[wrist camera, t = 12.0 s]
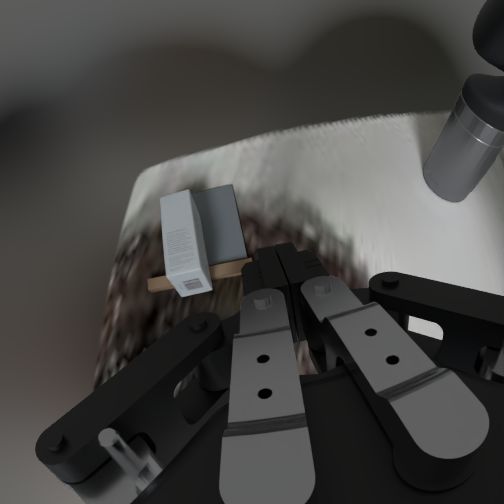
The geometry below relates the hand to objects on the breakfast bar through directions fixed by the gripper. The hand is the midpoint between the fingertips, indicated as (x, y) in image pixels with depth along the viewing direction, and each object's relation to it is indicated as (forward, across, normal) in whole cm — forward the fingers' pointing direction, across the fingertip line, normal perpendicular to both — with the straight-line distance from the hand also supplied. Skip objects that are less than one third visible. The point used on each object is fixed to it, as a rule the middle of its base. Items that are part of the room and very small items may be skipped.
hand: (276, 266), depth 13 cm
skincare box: (+21, +8, +10) cm, 25 cm away
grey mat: (+32, +7, +7) cm, 33 cm away
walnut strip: (+26, +8, +12) cm, 30 cm away
